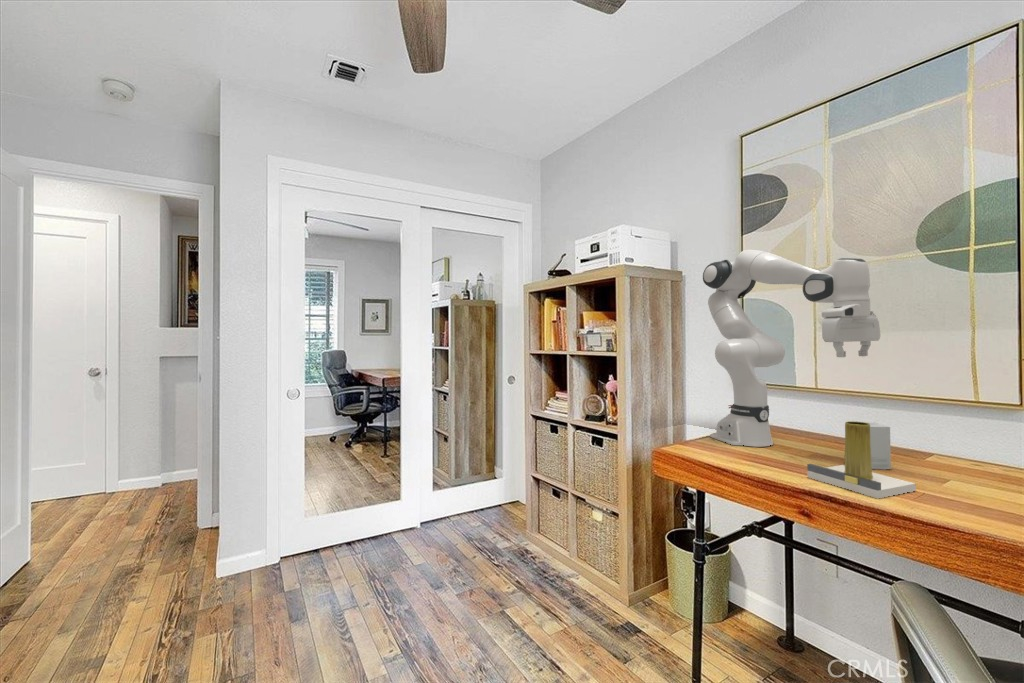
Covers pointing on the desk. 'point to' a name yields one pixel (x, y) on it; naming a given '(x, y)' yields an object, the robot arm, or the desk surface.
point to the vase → (858, 449)
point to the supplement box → (880, 446)
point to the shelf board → (860, 481)
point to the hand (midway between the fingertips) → (852, 356)
